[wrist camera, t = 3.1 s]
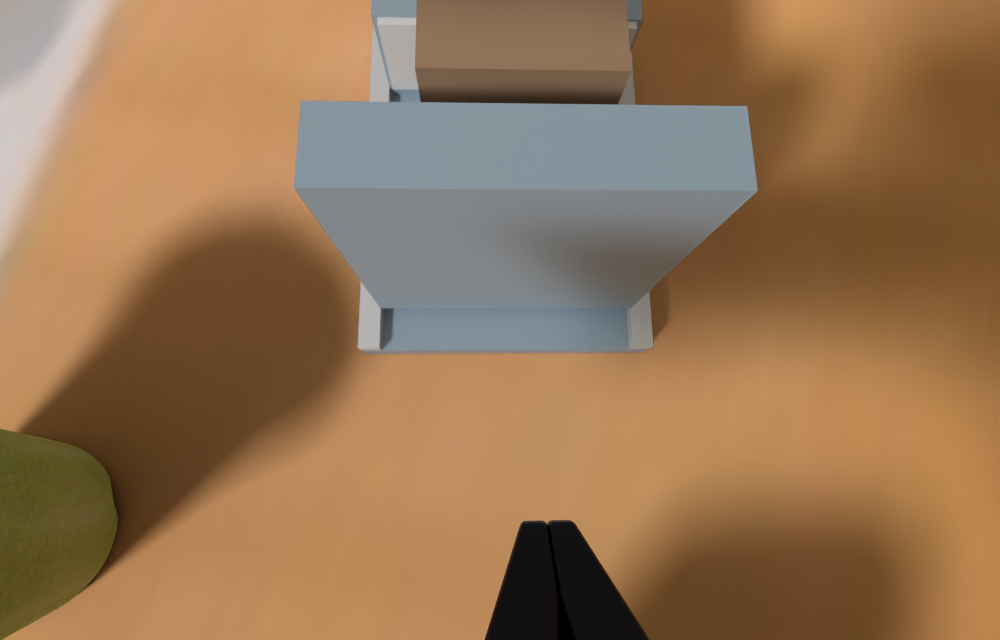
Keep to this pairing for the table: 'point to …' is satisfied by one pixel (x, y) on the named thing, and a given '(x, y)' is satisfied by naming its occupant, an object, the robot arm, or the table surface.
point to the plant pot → (49, 525)
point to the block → (522, 51)
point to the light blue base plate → (497, 325)
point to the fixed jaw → (398, 39)
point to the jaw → (519, 196)
